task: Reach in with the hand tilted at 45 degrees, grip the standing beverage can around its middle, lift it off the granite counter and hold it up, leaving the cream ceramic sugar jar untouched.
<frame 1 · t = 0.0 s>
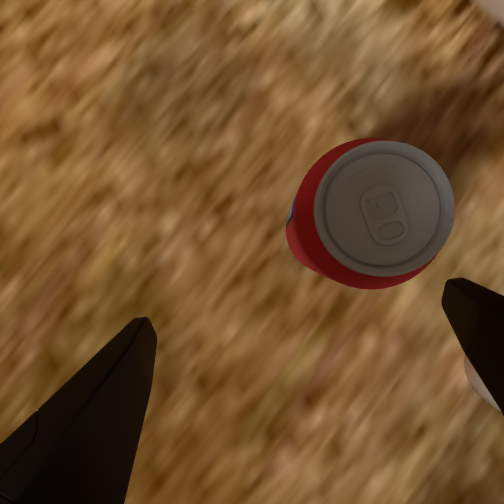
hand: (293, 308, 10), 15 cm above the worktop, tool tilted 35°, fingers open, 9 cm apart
beverage can: (328, 229, 24), on the worktop
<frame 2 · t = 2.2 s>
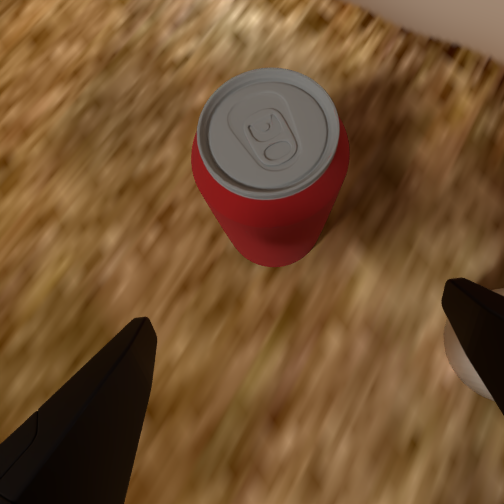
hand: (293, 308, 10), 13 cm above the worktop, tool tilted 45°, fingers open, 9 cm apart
beverage can: (274, 225, 24), on the worktop
sugar jar: (501, 344, 20), on the worktop
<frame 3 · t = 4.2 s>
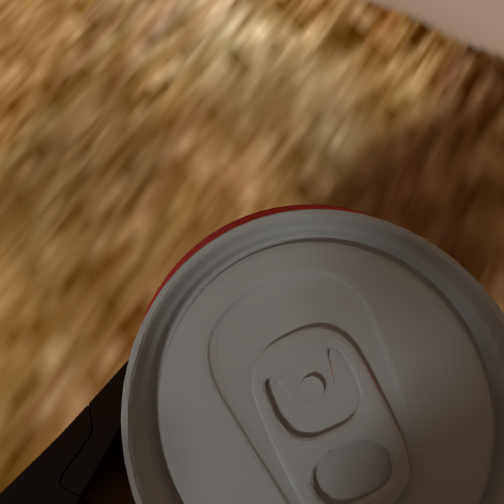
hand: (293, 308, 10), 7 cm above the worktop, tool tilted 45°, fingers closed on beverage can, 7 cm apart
beverage can: (291, 341, 16), on the worktop, touching gripper
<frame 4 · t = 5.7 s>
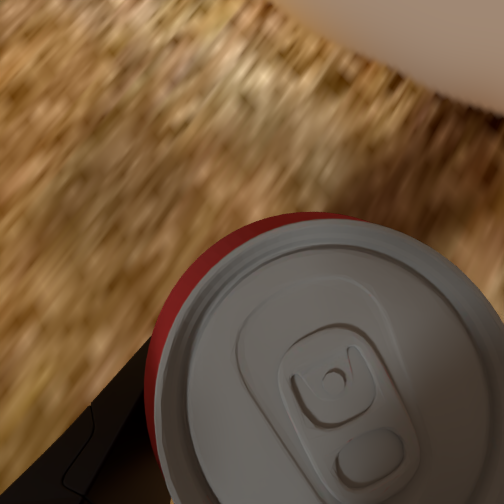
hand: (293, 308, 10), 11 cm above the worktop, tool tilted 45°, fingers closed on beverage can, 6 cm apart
beverage can: (275, 340, 16), point 4 cm above the worktop, touching gripper
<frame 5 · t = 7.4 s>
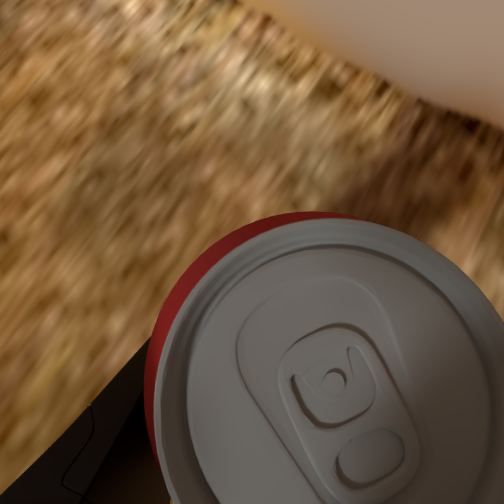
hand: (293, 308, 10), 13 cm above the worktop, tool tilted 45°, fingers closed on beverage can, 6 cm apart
beverage can: (275, 340, 16), point 6 cm above the worktop, touching gripper
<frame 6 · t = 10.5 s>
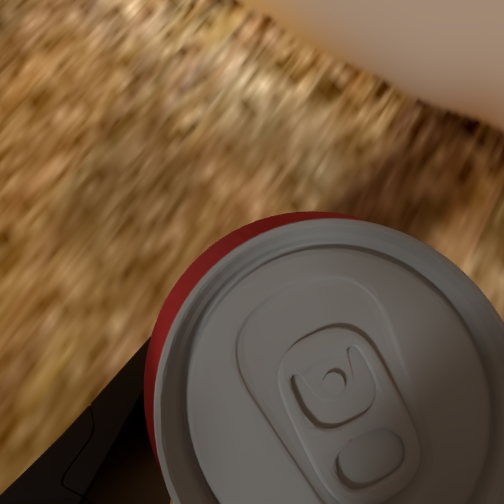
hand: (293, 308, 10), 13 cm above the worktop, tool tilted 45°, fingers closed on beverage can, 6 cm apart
beverage can: (275, 340, 16), point 6 cm above the worktop, touching gripper
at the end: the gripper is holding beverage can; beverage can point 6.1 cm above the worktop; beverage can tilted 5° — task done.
